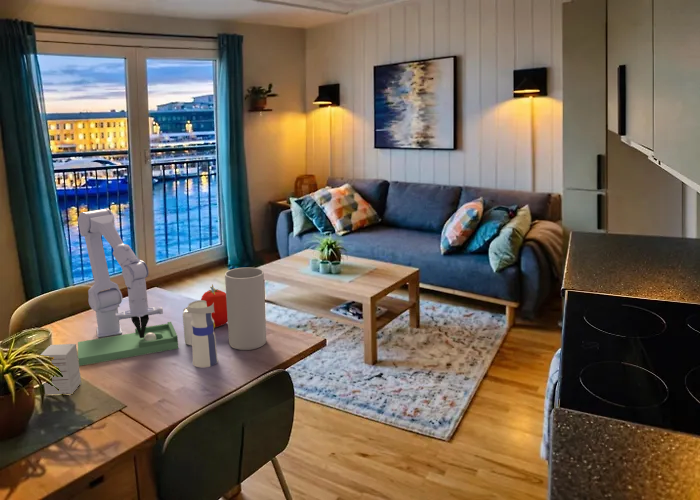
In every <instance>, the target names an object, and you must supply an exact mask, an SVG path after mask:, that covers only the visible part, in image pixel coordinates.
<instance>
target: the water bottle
mask: <svg viewBox="0 0 700 500" xmlns="http://www.w3.org/2000/svg"><path fill="white" fill-rule="evenodd" d="M209 287H210V290H212V293H214V294H215V290H216V288H214V285H213V283H212V284H211V286H209ZM186 308H187V311H188V312H190V313H192V316H193V319H192V322H191V325H192V327H193V334H192V366H194V367H197V368H202V369H203V368H210V367H213V366H215V365H216V364H217V363H218V362H219V360H218V359H219V358H218V352H217V351H218V350H217V339H216V332H215V328H216V327H215V323H214V320H213V319H212V315H211V314H212V313H213V312H214V303H213V304H212V305H211V306H209V307H207V303H206V301H204V300H201V299H199V300H194V301H192V302H190V303H188V305H187V307H186ZM214 313H215V312H214Z"/></svg>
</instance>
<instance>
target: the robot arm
mask: <svg viewBox="0 0 700 500" xmlns="http://www.w3.org/2000/svg"><path fill="white" fill-rule="evenodd" d="M77 224H78V229H79V232H80V235H81V237H84V241H85V243H86V244H85V245H86V249H87V254H88V258H89V263H90V267H91V273H92V278H93V282H94V283H93V284H92V286H90V288H89V289H88V290H87V293H88V294H87V295H88V299H87V300H88V304H89V305H88V306H89V307H90V309H91V310H92V311H95V316H96V317H95V318H96V324H97V326H96V335H97V338H105V337H112V336H118V335H123V331H122V325H121V323H120V321H122V320H126V319H131V321H132V324H133V325H134V327H135V329H136V328H137V330H138V333H139V336H140V338H144V334H145V329H146V327H148V323H149V320H150V316H152V315H153V316H154V315H163V314H164V312H163V307H162V306H156V307H154V306H153V307H152V306H151V307H149V302H148V293H147V284H146V283H147V281H146V278H148V276H149V267H148V265H147V263H146V262H145V261H143V260H142V259H141V258H138V256H136V254H135V252H134V251H133V249H132V248H131V247H130V245H129V244H124V242H123V240H122V238H121V236H120V234H119V233H118V232H119V231H118V230H117V229H116V227H115V216H114V213H113V212H112V210H110V209H109V208H104V209H96V210H89V211H81V212H80V213H79V216H78V218H77ZM102 237H104V239H105V240H106V242H107V243H108V244H109V245H110V246H111V247H112V249H113V252H112V255H113V257H114V258H115V260H116V261H117V263H118V264H119V266H120V267H121V269H122V272H121V274H122V277H123V281H124V284H125V286H126V287H127V294H128V296H127V297H128V305H129V310H125V311H122V312H121V311H120V312H119V308H120V307H121V306H120V305H121V304H122V302H123V294H122V291H121V290H120V288H119V284H118V283H116V282H114V281H112V280H111V278H110V273H109V268H108V263H107V258H106V253H105V249H104V245H103V240H102Z"/></svg>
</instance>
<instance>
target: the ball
mask: <svg viewBox="0 0 700 500" xmlns="http://www.w3.org/2000/svg"><path fill="white" fill-rule="evenodd" d="M151 340H156V335H155V334H154V333H147V334H146V335H145V336H144V341H151Z"/></svg>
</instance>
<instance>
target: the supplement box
mask: <svg viewBox="0 0 700 500" xmlns="http://www.w3.org/2000/svg"><path fill="white" fill-rule="evenodd" d="M40 355H44V356H50V357H54V359H53V360H52V361H51V362H52V364H53V365H54V366H56V367H58V368H59V370H60V371H61V373H62V375H63V377H56V376H54V377H52V383H53V384H54V385H55V386H56V387H57V388H58V389H59V391H58V390H57V389H56V388H55V387H54V386H51V385H50V384H48V383H44V382H43V387H44V393H45V395H46V394H72V393H73V392H74V391H75V390H76V389H77V390H78V388H79V387H80V386H79V384H80V383H81V384H82V377H81V371H80V370H81V369H80V366H79V362H78V348H77V344H76V343H64V344H63V343H62V344H61V343H60V344H50V346H49V345H48V347H46V349H44V350H43V351H42V352H41V354H40ZM81 384H80V385H81ZM78 386H79V387H78ZM77 387H78V388H77ZM77 390H76V391H77ZM76 391H75V392H76ZM75 392H74V393H75Z"/></svg>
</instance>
